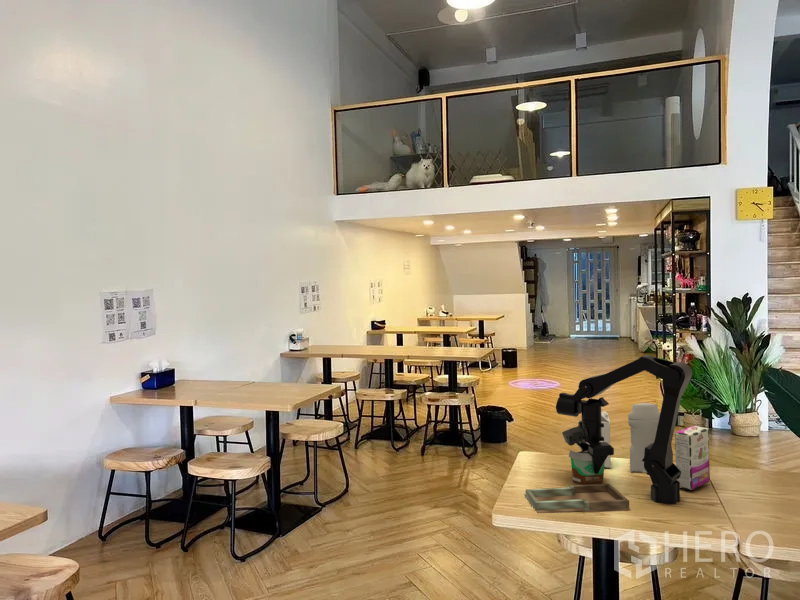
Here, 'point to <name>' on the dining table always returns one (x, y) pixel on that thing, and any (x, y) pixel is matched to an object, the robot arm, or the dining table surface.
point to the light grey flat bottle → (642, 432)
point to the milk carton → (606, 434)
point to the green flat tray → (577, 499)
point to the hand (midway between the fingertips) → (591, 469)
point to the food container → (584, 469)
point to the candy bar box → (692, 456)
